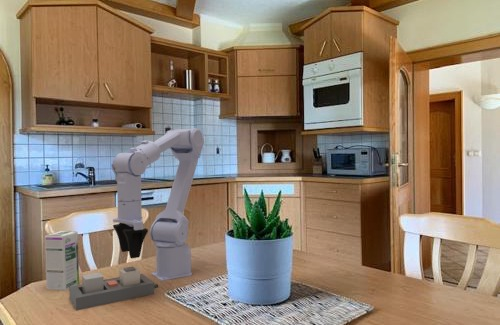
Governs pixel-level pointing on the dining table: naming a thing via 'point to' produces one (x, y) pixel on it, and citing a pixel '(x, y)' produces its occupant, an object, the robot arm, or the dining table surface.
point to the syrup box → (62, 260)
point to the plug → (129, 276)
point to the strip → (107, 291)
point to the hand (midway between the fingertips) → (130, 254)
